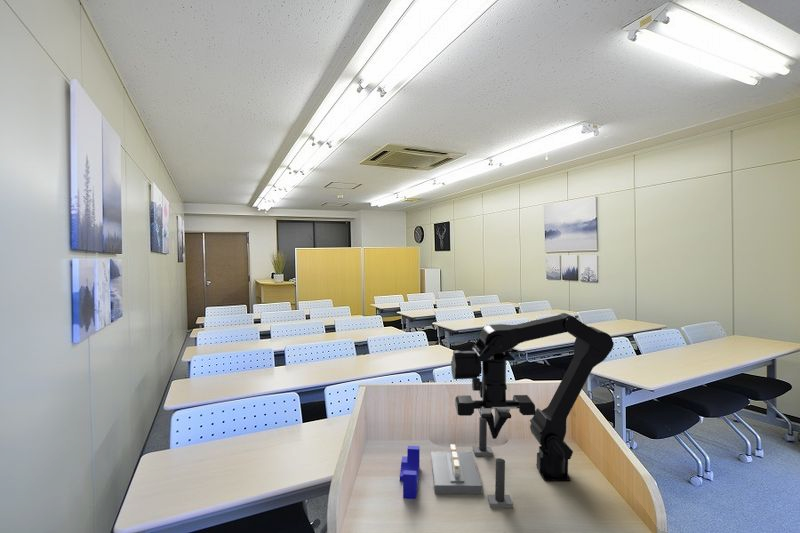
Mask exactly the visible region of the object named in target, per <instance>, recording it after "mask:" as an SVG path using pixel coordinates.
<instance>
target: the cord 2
mask: <svg viewBox="0 0 800 533" xmlns="http://www.w3.org/2000/svg"><path fill="white" fill-rule="evenodd" d="M505 476H506V461H505V459H503V458H501V457H500V458H496V459H495V494H487V497H486V499H487V502H488V505H489V509H513V508H514V506H513V505H514V504H513V501H512V498H511V496H510V494H506V493H505V490H506V489H505V482H506V481H505V480H506V479H505V478H506V477H505Z"/></svg>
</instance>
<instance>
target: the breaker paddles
mask: <svg viewBox="0 0 800 533" xmlns="http://www.w3.org/2000/svg"><path fill="white" fill-rule="evenodd" d="M449 447H450V448H449V450H450V451H449V452H450V455H451V459H452V465H453V471H454V476H455V477H456V478H459V475H460V466H459V461H458V456H457V452H458V451H457V448H456V447H457V446H456V444H455V443H454V444H453V443H451V444H449Z"/></svg>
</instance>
